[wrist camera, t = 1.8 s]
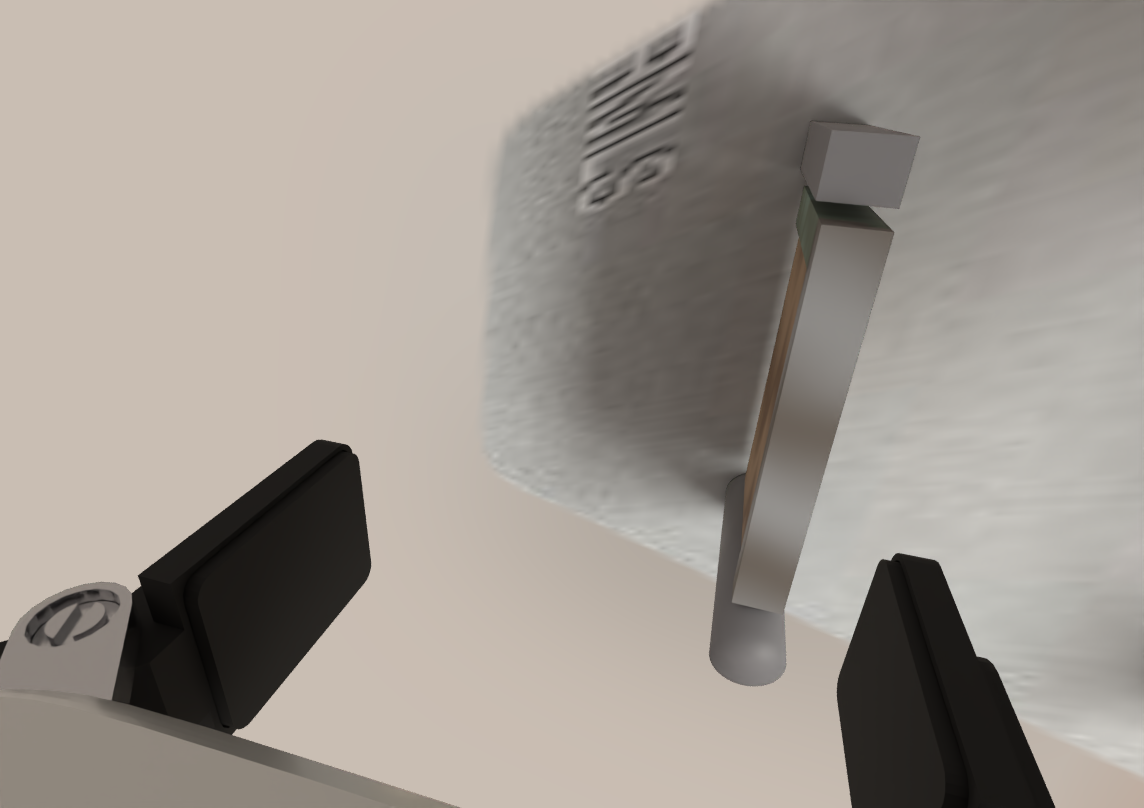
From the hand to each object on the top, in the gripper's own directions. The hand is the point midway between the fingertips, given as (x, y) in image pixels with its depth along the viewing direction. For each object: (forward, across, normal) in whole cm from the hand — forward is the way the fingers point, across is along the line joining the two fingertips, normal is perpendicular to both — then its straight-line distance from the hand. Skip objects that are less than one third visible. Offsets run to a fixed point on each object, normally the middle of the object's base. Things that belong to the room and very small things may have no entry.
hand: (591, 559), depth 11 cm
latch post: (+23, -5, -6) cm, 24 cm away
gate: (+21, -5, +3) cm, 22 cm away
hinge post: (+23, -5, +13) cm, 27 cm away
